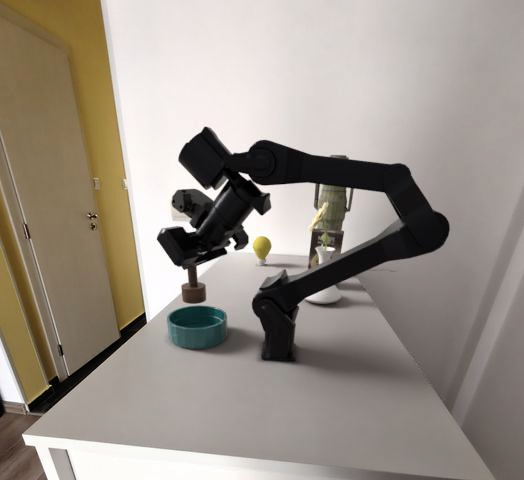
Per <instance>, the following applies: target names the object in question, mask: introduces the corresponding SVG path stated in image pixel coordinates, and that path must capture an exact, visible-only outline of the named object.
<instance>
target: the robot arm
mask: <svg viewBox="0 0 524 480" xmlns="http://www.w3.org/2000/svg"><path fill="white" fill-rule="evenodd" d="M177 161H178V163H179V164H180V165H181V166H182V167H183V168H184V169H185V170H186V171H187V172H188V173H189V174H190V175H191V176H192V178H194V180H195V181H196V182H198V184H199V185H200V186H201V187H202V188H203V189H204V190H205V191H208V190H210V189H211V188H212V189H213V190H214V191H218V190H219V189H220V188H221V187H222V186H223V185H224V186H223V187H222V189H220V192H219V193H218V194H217V196H216V197H215V199H212V198H211V197H210V196H208V195H207V194H205V193H204V192H203V191H202V190H199V189H198V188H182V189H177V190H176V191H175V192H174V194H173V195H172V196H171V202H170V203H171V206H172V208H174V209H175V210H176V211H177V212H179V213H180V214H184V215H186V216H187V217H188V218H189V219H190V220H189V223H188V224H190V226H191V228H192V229H195V231H190V232H188V231H186V229H185V227H184V226H180V225H174V226H169V227H163V228H161V229H160V230H159V232H158V234H157V236H156V241H157V242H158V243H159V246H161V248H162V249H163V251H164V252H165V254H166V255H167V257H168V258H169V259H170V261H171V262H172V263H173V265H174V266H176V267H178V268H182V270H183V271H187V269H188V268H191V267H193V266H195V265H196V266H197V267H198V266H201V265H204V264H205V263H208V262H210V261H214V260H216V259H219V258H221V257H223V256H227V255H228V250H227V249H226V248H227V247H230V245H231V244H232V241H231V240H230V239H232V240H233V241H234V243H235V245H234V246H233V250H234V251H235V252H238V251H240V250H244V249H246V247H247V246H248V245H249V243H250V239H249V238H250V237H249V234H248V233H247V232H246V230H245V227H244V225H243V224H244V222H245V221H246V220H247V218H249V216H250V215H251V214H252V212H253V211H254V210H255V211H256V212H257V214H258V215H260V216H261V217H262V216H264V215H265V214H266V213H268V212H269V211H270V210H271V209H272V202H271V193H270V192H264V191H262V190H261V189H260V188H259V187H258V185H259V186H266V187H267V186H279V185H294V184H295V185H296V184H314V185H316V184H320V185H322V186H323V185H330V186H338V187H345V188H346V189H351V188H353V189H354V190H362V191H367V192H368V191H370V192H377V193H383V194H385V196H386V197H387V200H388V201H389V203H390V205H391V206H392V209H393V210H394V212H395V214H396V216H397V217H398V218H397V219H396V220H395V221H393V222H392V223H390V224H389V225H388V226H387V227H386V228H385V229H384V230H382V231H381V232H380V233H379V234H377V235H376V236H374V237H373V238H370V239H368V240H366V241H364V242H362V243H360V244H358V245H356V246H354V247H352V248H349V249H348V250H346V251H344V252H341V254H339V255H337V256H335V257H333V258H331V259H329V260H327V261H325V262H323V263H321V264H319V265H317V266H315V267H313V268H311V269H309V270H308V269H306V270H305V271H303V272H300V273H298V274H290V275H288V272H287V269H285V268H284V269H283V270H281V271H279V272H278V273H277V274H275V275H273V276H267V277H266V278H265V279H264V281H263V282H262V283H261V285H260V286H259V288H258V290H257V292H256V294H255V295H254V297H253V298H252V301H251V309H252V312H253V314H254V315H255V317H257V318H258V319H259V322H260V324H261V327H262V330H263V332H264V340H263V341H262V348H261V353H260V359H261V360H268V361H284V362H295V361H296V359H297V356H296V355H297V354H296V343H295V336H296V327H297V326H296V325H297V324H296V320H297V317H298V313H299V311H300V306H299V304H300V303H302V302H303V301H304V300H305V298H307V297H309V296H311V295H313V294H316V293H318V292H320V291H322V290H325V289H327V288H329V287H331V286H333V285H336V286H337V285H338V284H340V283H343V282H345V281H347V280H349V279H351V278H354V277H355V276H358V275H360V274H362V273H364V272H367V271H369V270H372V269H373V268H376V267H378V266H380V265H383V264H385V263H388V262H392V261H393V262H395V261H401V260H408V259H413V258H417V257H419V256H420V257H421V256H424V255H428V254H431V253H433V252H436V251H437V250H440V249H441V248H442V247H444V245H445V243H446V241H447V239H448V238H449V235H450V230H451V227H450V222H449V220H448V218H447V217H446V216H445V215H444V214H443V213H442V212H440V211H437V210H435V209H434V208H432V206H431V203H430V202H429V200H428V199H427V197H426V196H425V194H424V193H423V191H422V190H421V188H420V187H419V185H418V184H417V183H416V181H415V179H414V177H413V175H412V171H411V170H410V167H408V166H407V164H404V163H400V162H397V163H396V162H394V163H384V162H374V161H367V160H360V159H359V160H358V159H352V158H351V159H350V158H349V159H343V158H334V157H330V156H325V155H317V154H311V153H308V152H306V151H302V150H299V149H296V148H293V147H290V146H287V145H285V144H280V143H278V142H276V141H272V140H269V139H259V140H257V141H255V142H254V143H253V144H252V145H251V146H250V147H249V149H248V150H247V151H243V152H231V151H230V150H229V148H228V147H226V145H225V144H224V143H223V142H222V141H221V139H220V138H219V137H218V135H217V133H216V132H215V131H214V130H213V128H212V127H209V126H204V127H203V128H202V130H201V131H200V132H198V133H197V134H195V135H194V136H193V137H192V138H191V139H190V140H189V141H188V142H185V143H184V145H183V147H182V148H181V150H180V152H179V154H178V160H177ZM242 174H243V175H247V176H248V177H249V178H250V179H247V178H245V176H243V175H242Z"/></svg>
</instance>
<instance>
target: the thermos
mask: <svg viewBox="0 0 524 480" xmlns="http://www.w3.org/2000/svg"><path fill="white" fill-rule="evenodd" d="M329 157H334V158H343V159H350V158H349V156H347V155H345V154H330V155H329ZM314 185H315V187H314V200H313V208H314V209H315V210H316V211H317V212H316V215H317V214H318V211H319V209H320V208H321V209H322V207H323V204H324V203H327V202H328V203H329V204H328V207H327V210H326V212H325V213H324V215H323V221H324V223H325V226H326V229H328V230H340V231H343V230H342V229H343V225H344V224H343V223H344V221H345V219H346V214H347V213H350V212H351V209H352V205H353V197H354V191H355V189H353V188H350V191H349V192H350V193H349V197H347V188H345V187H338V186H330V185H322V188H321V184H314ZM320 188H321V190H320ZM320 191H321V192H320ZM316 228H317V229H325V228H324V225H323V223H322V221H321V222H319V223H318V224H317V226H316Z"/></svg>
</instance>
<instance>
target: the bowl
mask: <svg viewBox="0 0 524 480" xmlns="http://www.w3.org/2000/svg"><path fill="white" fill-rule="evenodd" d="M166 323H167V324H166V325H167V332H168V339H169V340H170V341H171V343H173V344H174V345H175V346H177V347H180V348H183V349H188V350H202V349H203V350H204V349H208V348H213V347H215V346H218V345H219V344H222V342H224V340H226V338H227V336H228V315H227V313H226V311H225V310H223V309H221V308H219V307H216V306H211V305H204V304H203V305H202V304H201V305H199V304H195V305H188V306H181V307H180V308H176V309H174V310H172V311H171V312H169V313H168V315H167V316H166Z"/></svg>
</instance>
